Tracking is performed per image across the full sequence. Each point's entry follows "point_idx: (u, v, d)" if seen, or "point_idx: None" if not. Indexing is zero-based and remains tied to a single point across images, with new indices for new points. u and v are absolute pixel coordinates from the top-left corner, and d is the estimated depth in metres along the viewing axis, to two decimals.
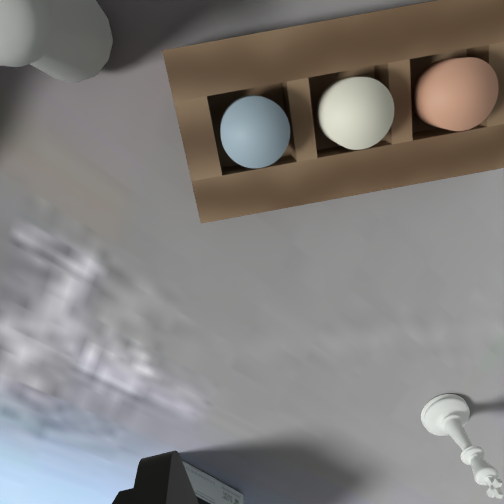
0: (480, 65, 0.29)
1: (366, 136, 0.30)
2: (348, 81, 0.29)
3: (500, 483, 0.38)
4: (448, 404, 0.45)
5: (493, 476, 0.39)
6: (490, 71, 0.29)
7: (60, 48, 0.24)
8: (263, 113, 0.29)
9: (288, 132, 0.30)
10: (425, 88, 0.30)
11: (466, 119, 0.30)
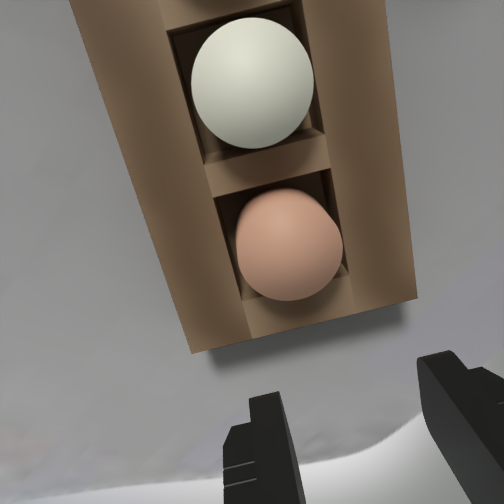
0: (331, 265, 0.20)
1: (215, 104, 0.17)
2: (305, 55, 0.17)
3: None
4: None
5: None
6: (323, 281, 0.20)
7: None
8: None
9: None
10: (294, 196, 0.20)
11: (255, 265, 0.20)
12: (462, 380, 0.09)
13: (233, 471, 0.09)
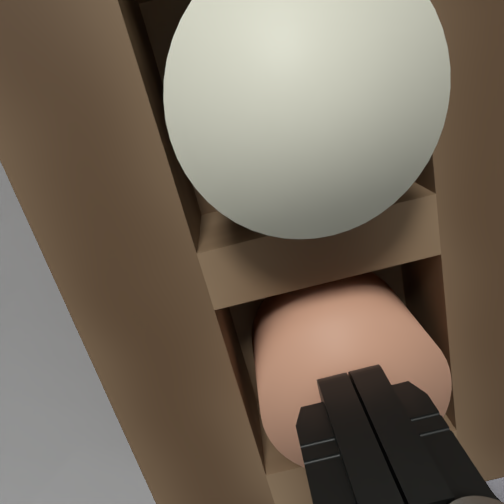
0: None
1: (221, 146, 0.07)
2: (437, 30, 0.07)
3: None
4: None
5: None
6: None
7: None
8: None
9: None
10: (362, 297, 0.11)
11: (292, 422, 0.11)
12: (383, 395, 0.09)
13: (311, 449, 0.09)
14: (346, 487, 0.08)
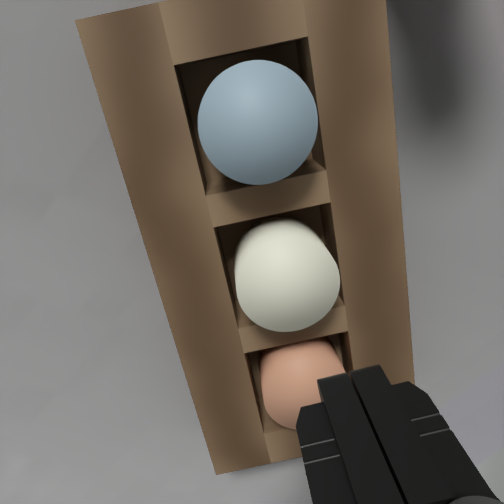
0: None
1: (256, 299, 0.20)
2: (334, 264, 0.20)
3: None
4: None
5: None
6: None
7: None
8: (290, 137, 0.17)
9: (260, 181, 0.18)
10: (311, 347, 0.24)
11: (278, 404, 0.23)
12: (383, 395, 0.09)
13: (311, 449, 0.09)
14: (346, 487, 0.08)
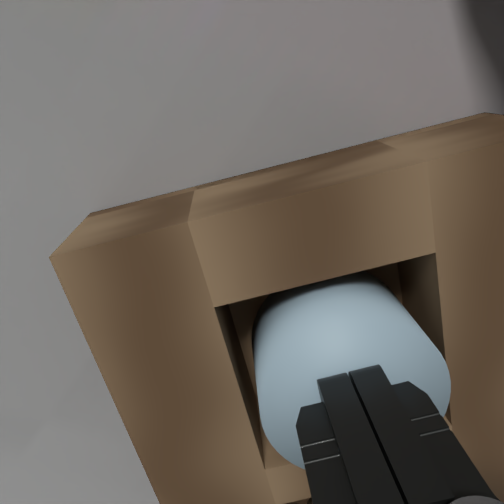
0: None
1: None
2: None
3: None
4: None
5: None
6: None
7: None
8: None
9: None
10: None
11: None
12: (383, 395, 0.09)
13: (311, 449, 0.09)
14: (346, 487, 0.08)
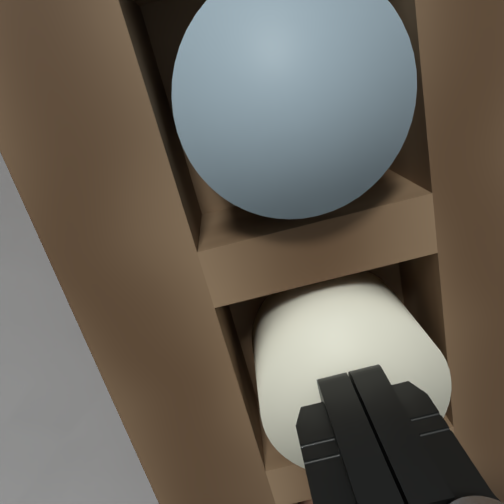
0: None
1: None
2: (442, 361, 0.10)
3: None
4: None
5: None
6: None
7: None
8: (361, 123, 0.09)
9: (301, 213, 0.09)
10: None
11: None
12: (383, 395, 0.09)
13: (311, 449, 0.09)
14: (346, 487, 0.08)
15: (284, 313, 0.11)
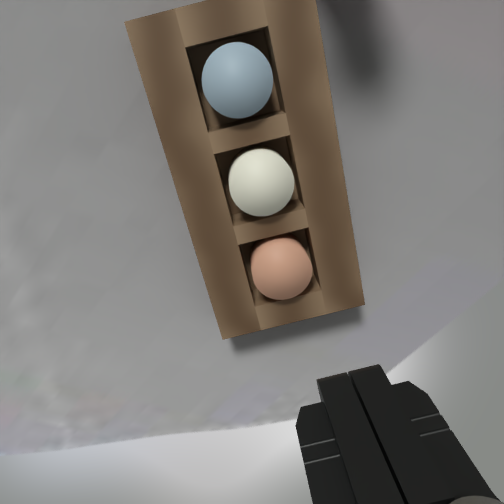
0: (306, 279, 0.34)
1: (241, 194, 0.32)
2: (289, 169, 0.31)
3: None
4: None
5: None
6: (301, 288, 0.35)
7: None
8: (257, 88, 0.29)
9: (240, 116, 0.30)
10: (284, 240, 0.34)
11: (262, 279, 0.34)
12: (383, 395, 0.09)
13: (311, 449, 0.09)
14: (346, 487, 0.08)
15: (238, 157, 0.32)
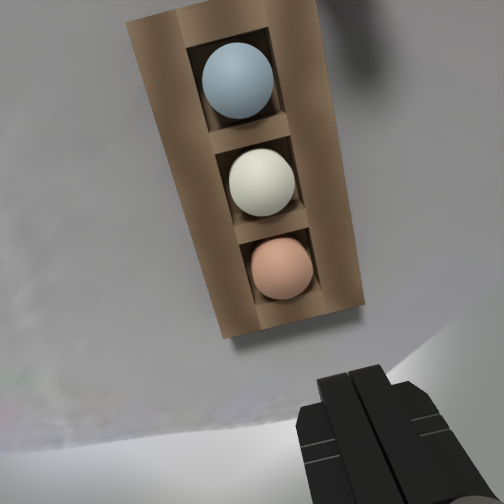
0: (306, 279, 0.35)
1: (242, 194, 0.32)
2: (290, 169, 0.31)
3: None
4: None
5: None
6: (302, 288, 0.35)
7: None
8: (257, 88, 0.29)
9: (241, 116, 0.30)
10: (284, 240, 0.34)
11: (263, 279, 0.34)
12: (383, 395, 0.09)
13: (311, 449, 0.09)
14: (346, 487, 0.08)
15: (238, 157, 0.32)
